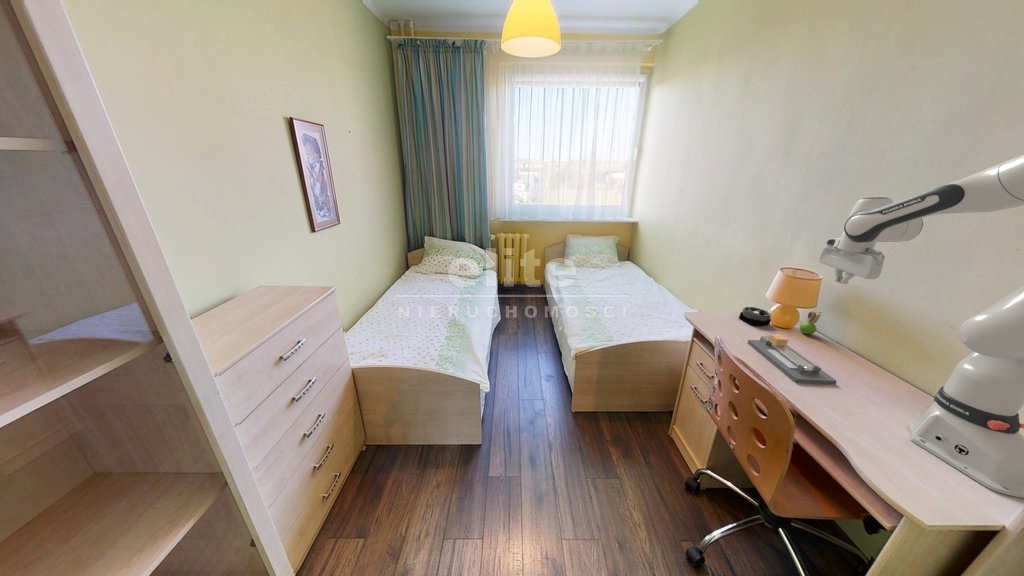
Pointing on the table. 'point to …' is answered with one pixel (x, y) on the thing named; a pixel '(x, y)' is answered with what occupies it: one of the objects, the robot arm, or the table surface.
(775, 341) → the tan small block
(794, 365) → the socket frame
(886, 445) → the table surface
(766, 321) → the cpu cooler
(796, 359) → the grey metal bar
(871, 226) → the robot arm
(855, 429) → the table surface
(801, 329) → the snail figurine
